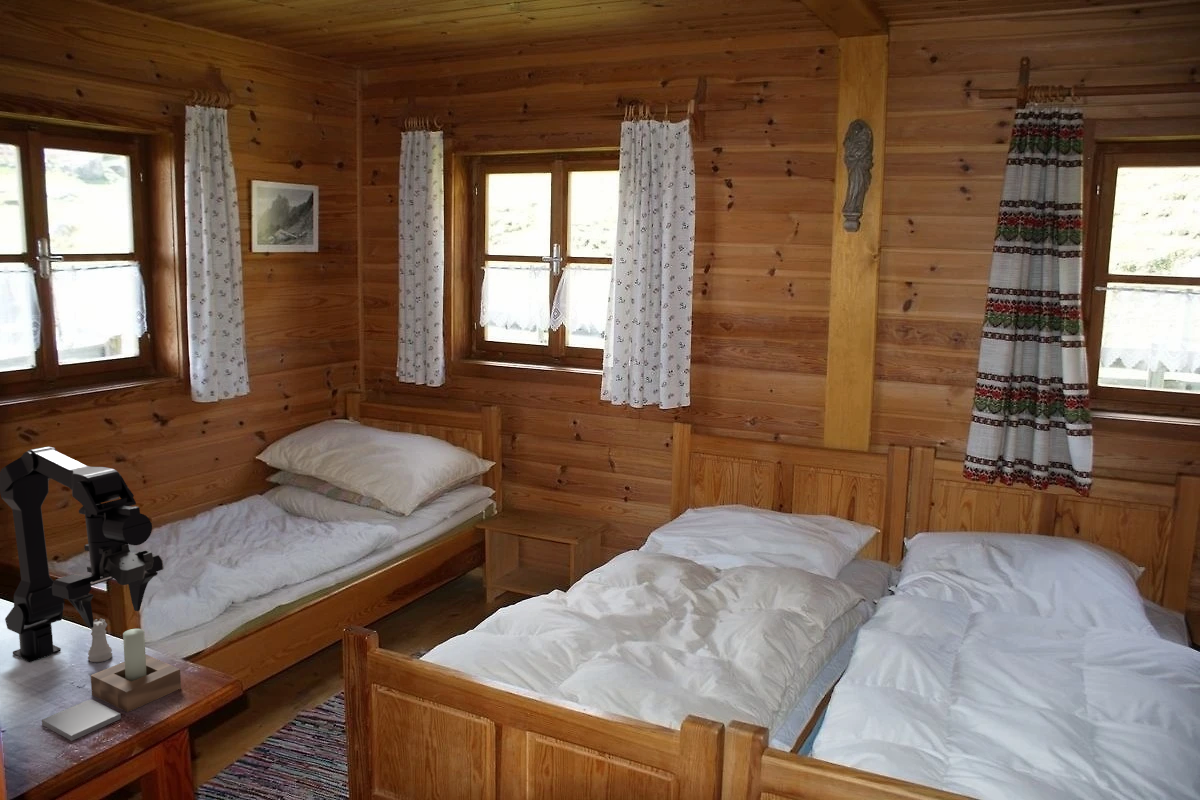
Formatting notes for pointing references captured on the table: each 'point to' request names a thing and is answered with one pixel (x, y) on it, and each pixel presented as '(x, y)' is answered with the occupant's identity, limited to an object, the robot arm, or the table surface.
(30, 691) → the table surface
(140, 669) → the sage peg
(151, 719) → the table surface
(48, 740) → the table surface
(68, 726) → the slate tile
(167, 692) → the walnut pocket block
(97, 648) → the rook chess piece
